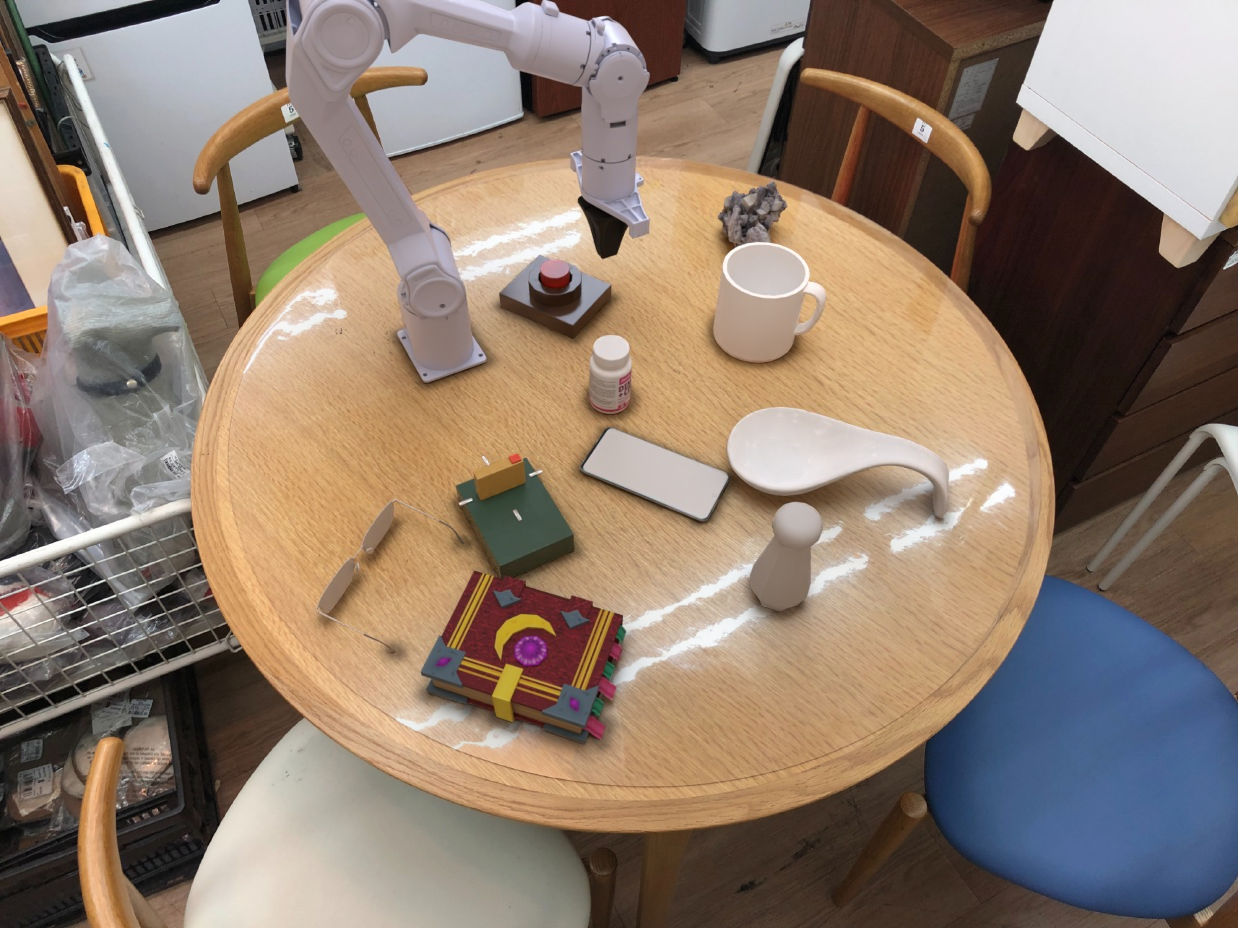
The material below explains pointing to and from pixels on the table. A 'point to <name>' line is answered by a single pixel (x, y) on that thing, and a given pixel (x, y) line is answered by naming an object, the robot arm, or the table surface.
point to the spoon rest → (821, 453)
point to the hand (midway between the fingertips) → (607, 253)
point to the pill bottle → (610, 374)
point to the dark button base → (556, 298)
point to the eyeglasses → (347, 569)
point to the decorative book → (528, 656)
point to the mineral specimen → (751, 214)
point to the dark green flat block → (517, 524)
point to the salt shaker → (787, 557)
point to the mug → (763, 301)
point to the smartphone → (656, 473)
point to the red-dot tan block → (499, 476)
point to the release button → (555, 274)
